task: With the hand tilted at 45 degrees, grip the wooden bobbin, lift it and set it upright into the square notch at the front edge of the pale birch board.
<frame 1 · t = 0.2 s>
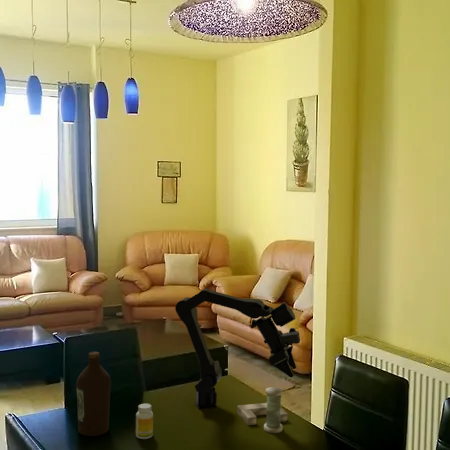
hand: (293, 372, 205), 15 cm above the table, tool tilted 35°, fingers open, 9 cm apart
supplement bottle: (144, 436, 186), on the table
notched board: (261, 416, 203), on the table
bobbin: (273, 429, 193), on the table
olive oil: (93, 430, 190), on the table
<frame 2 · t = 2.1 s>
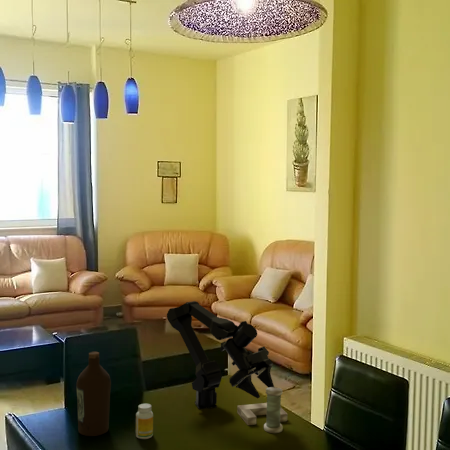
hand: (266, 393, 194), 11 cm above the table, tool tilted 45°, fingers open, 9 cm apart
nothing on the table moved.
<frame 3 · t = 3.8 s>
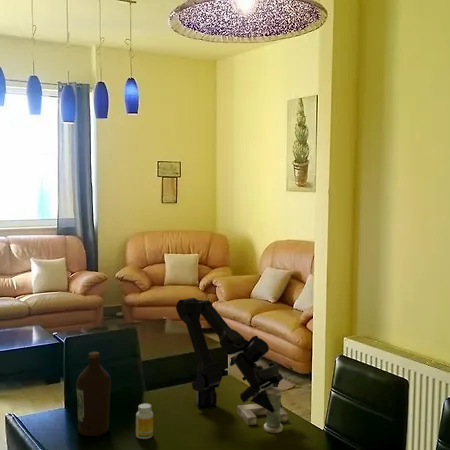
hand: (277, 409, 192), 7 cm above the table, tool tilted 45°, fingers closed on bobbin, 4 cm apart
bobbin: (273, 429, 193), on the table, touching gripper
everything else where it was.
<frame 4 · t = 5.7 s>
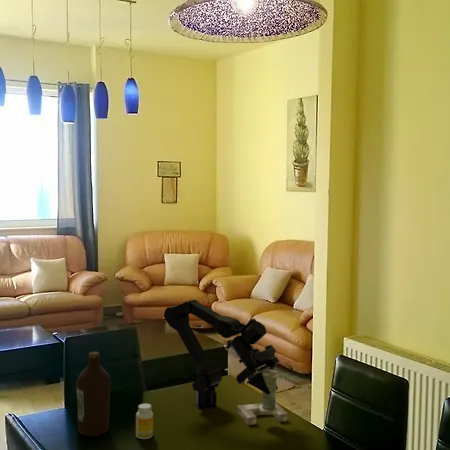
hand: (272, 391, 195), 11 cm above the table, tool tilted 45°, fingers closed on bobbin, 4 cm apart
bobbin: (268, 410, 196), point 5 cm above the table, touching gripper
everything else where it was.
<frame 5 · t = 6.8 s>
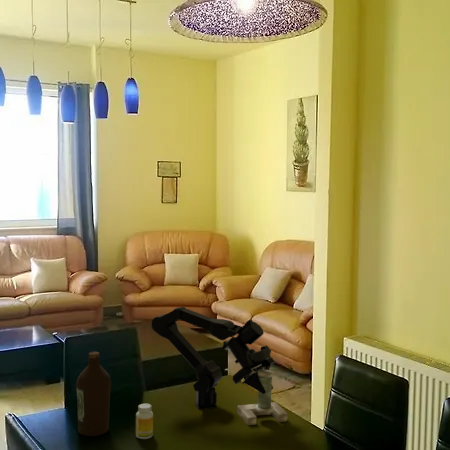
hand: (268, 391, 199), 10 cm above the table, tool tilted 45°, fingers closed on bobbin, 4 cm apart
bobbin: (264, 410, 201), point 3 cm above the table, touching gripper
everything else where it was.
when the fingers open (8 cm above the table, at t = 7.6 s): bobbin drops 1 cm, on the table.
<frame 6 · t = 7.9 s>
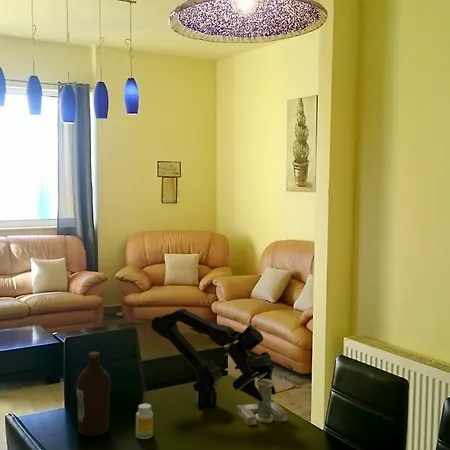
hand: (268, 397, 200), 8 cm above the table, tool tilted 45°, fingers open, 8 cm apart
bobbin: (264, 419, 201), on the table
everything else where it was.
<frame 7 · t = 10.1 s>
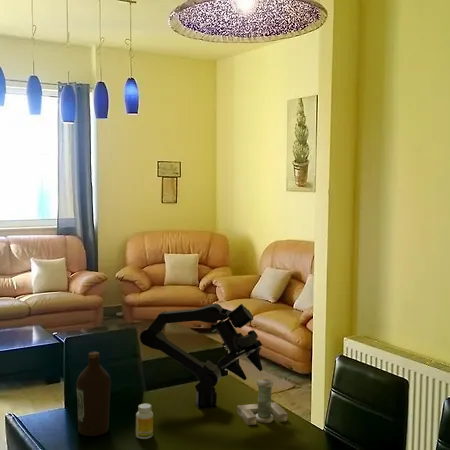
hand: (253, 375, 204), 14 cm above the table, tool tilted 40°, fingers open, 9 cm apart
nothing on the table moved.
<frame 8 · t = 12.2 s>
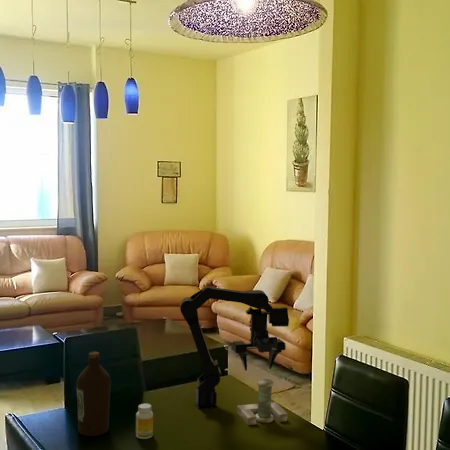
hand: (257, 369, 213), 13 cm above the table, tool pointing down, fingers open, 9 cm apart
nothing on the table moved.
at the end: bobbin 0.1 cm from the target spot on the notched board, point 0.0 cm above the notched board's base; bobbin tilted 1°; the gripper is holding nothing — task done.
